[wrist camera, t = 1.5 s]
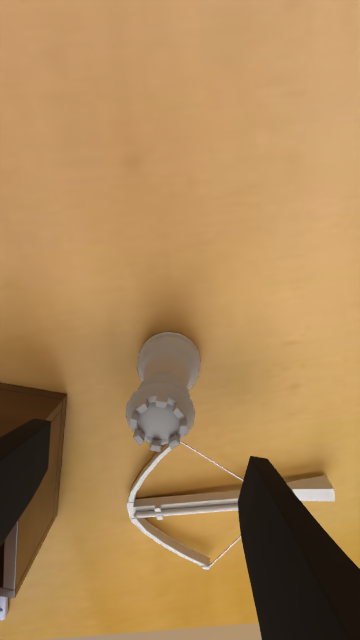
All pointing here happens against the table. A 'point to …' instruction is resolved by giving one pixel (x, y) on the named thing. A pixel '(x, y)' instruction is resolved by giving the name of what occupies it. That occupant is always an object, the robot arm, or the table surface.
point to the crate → (34, 524)
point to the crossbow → (204, 506)
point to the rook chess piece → (164, 390)
